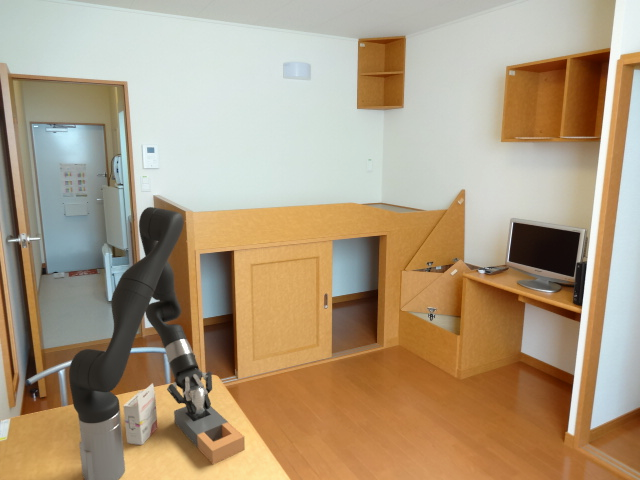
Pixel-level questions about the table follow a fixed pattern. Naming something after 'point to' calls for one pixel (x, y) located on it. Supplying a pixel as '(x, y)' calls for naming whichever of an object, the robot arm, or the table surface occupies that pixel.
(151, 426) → the ink cartridge box
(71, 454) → the table surface
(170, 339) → the robot arm
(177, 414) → the socket block
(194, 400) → the silver metal cylinder
